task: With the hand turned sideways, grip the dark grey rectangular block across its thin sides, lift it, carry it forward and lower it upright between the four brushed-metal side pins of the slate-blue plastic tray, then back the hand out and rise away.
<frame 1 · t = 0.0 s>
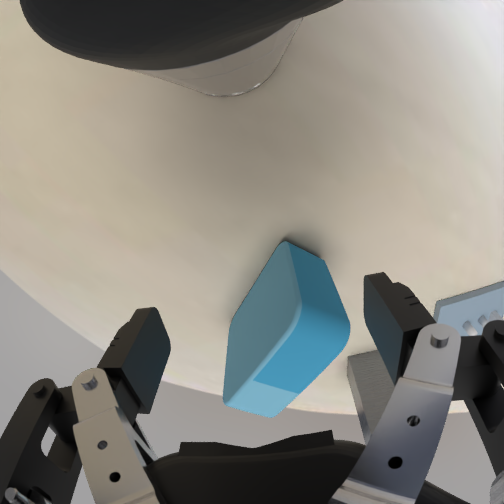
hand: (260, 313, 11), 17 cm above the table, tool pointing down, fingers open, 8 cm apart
data package: (273, 290, 31), on the table
pin tray: (464, 333, 35), on the table
dark grey rectangular block: (368, 361, 36), on the table
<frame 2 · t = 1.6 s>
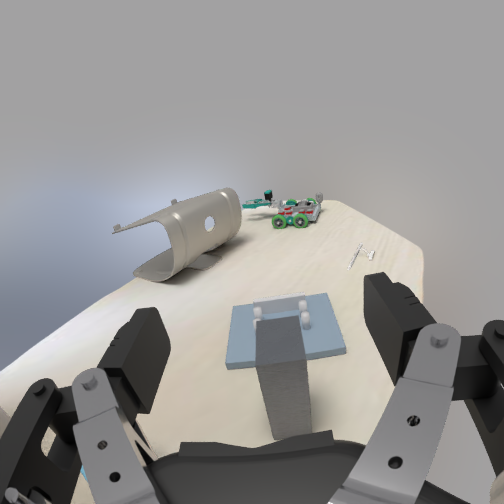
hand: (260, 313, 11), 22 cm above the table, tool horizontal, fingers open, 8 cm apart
pin tray: (283, 331, 44), on the table
curved metal cover: (186, 260, 78), on the table
dark grey rectangular block: (291, 416, 30), on the table
robot kit: (282, 220, 95), on the table
picture light: (363, 258, 62), on the table
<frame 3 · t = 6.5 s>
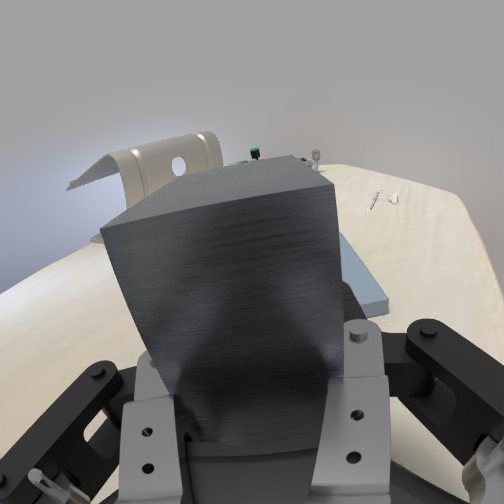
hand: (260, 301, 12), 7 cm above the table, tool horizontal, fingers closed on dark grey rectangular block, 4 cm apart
pin tray: (272, 285, 27), on the table
curved metal cover: (154, 222, 60), on the table
dark grey rectangular block: (284, 446, 12), on the table, touching gripper
robot kit: (273, 182, 77), on the table
picture light: (384, 204, 45), on the table
when the fingers open (8 cm above the table, at t = 12.8 s): dark grey rectangular block stays where it is, resting on pin tray.
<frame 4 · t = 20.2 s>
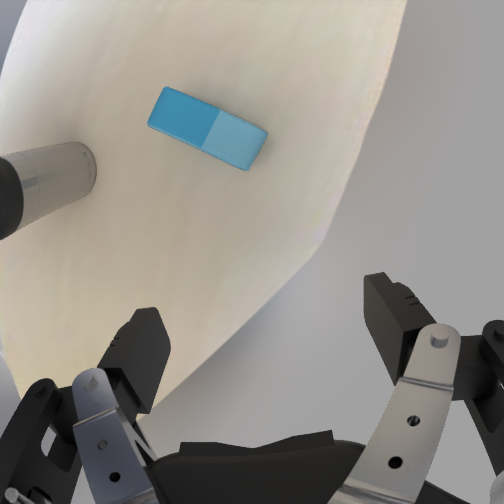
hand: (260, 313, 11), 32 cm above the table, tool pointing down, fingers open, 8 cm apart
data package: (218, 128, 38), on the table
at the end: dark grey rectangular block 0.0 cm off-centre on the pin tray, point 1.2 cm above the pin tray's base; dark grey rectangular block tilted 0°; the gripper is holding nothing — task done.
